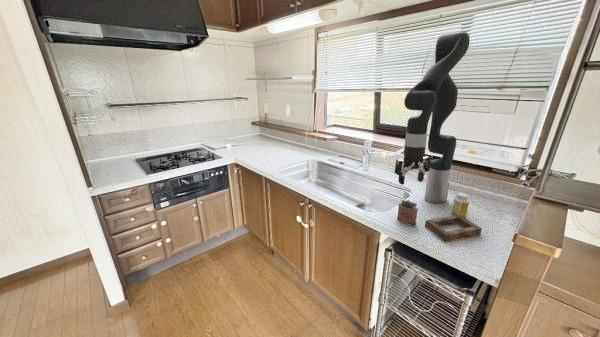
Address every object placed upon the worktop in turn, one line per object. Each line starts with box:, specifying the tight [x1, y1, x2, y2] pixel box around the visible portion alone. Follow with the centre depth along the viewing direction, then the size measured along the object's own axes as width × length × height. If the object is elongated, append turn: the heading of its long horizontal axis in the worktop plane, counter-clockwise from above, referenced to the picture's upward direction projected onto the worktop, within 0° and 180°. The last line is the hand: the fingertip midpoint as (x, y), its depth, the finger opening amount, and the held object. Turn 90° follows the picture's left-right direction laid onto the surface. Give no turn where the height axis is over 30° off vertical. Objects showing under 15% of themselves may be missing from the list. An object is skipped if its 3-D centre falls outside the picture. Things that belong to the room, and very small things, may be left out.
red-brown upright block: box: [396, 199, 419, 227], centre depth 104 cm, size 8×3×10 cm, turn 45°
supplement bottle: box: [451, 192, 470, 218], centre depth 107 cm, size 6×6×10 cm
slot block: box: [424, 214, 483, 243], centre depth 98 cm, size 16×11×3 cm
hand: (410, 182), depth 100 cm, fingers open, 8 cm apart
